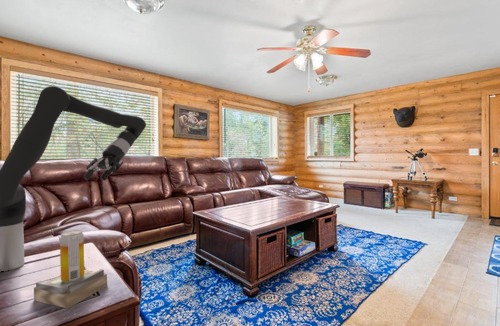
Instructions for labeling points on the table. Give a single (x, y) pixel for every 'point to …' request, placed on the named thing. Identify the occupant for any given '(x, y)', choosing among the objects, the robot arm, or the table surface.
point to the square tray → (69, 289)
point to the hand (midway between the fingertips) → (93, 179)
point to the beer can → (72, 256)
